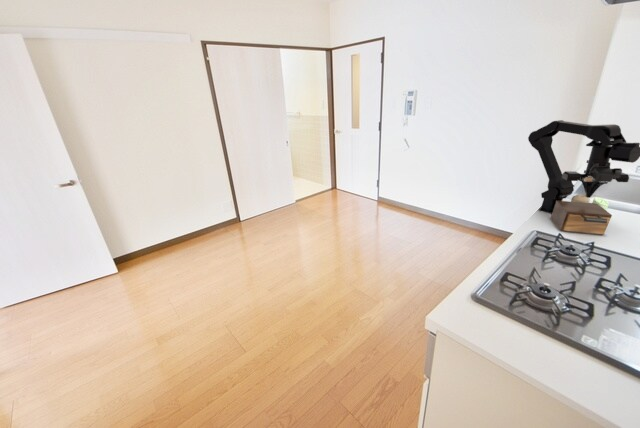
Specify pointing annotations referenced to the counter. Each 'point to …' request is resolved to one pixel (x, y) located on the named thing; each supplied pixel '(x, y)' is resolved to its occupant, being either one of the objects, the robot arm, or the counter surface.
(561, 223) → the cabinet
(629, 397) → the counter surface
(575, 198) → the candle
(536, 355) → the counter surface
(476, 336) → the counter surface
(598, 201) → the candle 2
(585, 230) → the drawer
